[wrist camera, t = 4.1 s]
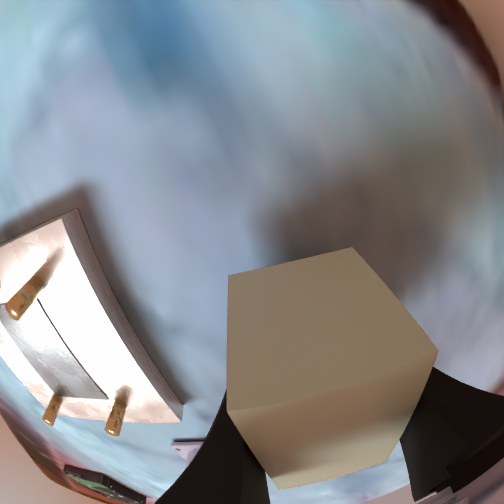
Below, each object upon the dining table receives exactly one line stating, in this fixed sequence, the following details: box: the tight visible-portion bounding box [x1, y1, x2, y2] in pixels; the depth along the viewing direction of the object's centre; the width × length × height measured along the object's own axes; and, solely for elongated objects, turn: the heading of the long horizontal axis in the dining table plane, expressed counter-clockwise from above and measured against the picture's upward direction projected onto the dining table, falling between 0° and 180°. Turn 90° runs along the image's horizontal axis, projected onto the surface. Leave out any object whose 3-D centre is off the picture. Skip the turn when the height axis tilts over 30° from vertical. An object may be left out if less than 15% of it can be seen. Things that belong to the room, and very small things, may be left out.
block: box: [227, 247, 438, 489], centre depth 9 cm, size 8×5×6 cm, turn 12°
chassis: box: [0, 208, 183, 436], centre depth 12 cm, size 15×14×4 cm
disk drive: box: [63, 465, 146, 504], centre depth 30 cm, size 10×3×15 cm
